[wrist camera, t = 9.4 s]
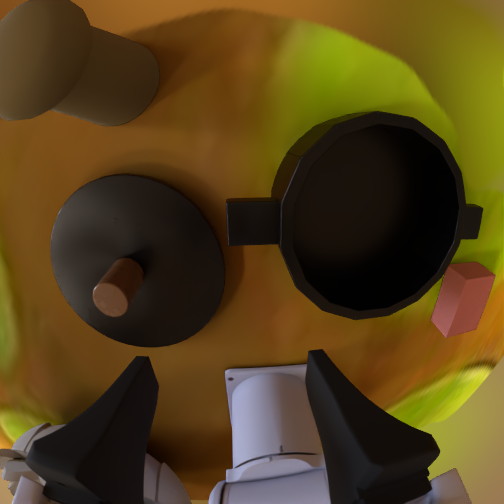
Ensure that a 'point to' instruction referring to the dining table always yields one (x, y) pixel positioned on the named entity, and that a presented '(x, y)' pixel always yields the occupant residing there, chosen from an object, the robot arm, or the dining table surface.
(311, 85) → the dining table surface
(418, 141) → the pan
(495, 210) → the dining table surface
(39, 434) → the decorative bowl
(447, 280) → the reddish pink block
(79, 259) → the pan lid
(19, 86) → the cork
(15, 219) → the dining table surface
